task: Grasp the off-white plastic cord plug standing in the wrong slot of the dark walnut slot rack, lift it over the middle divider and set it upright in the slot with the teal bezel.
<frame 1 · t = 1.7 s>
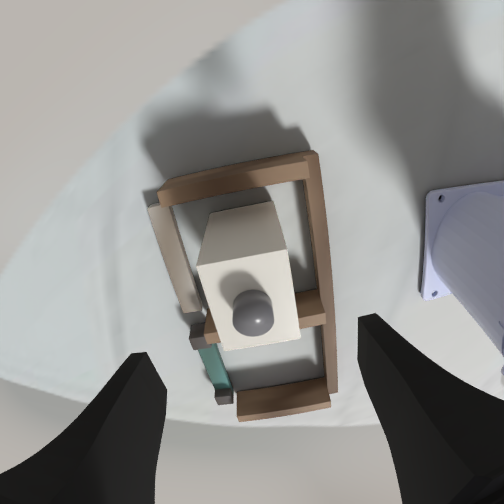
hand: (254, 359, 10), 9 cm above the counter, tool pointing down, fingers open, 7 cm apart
plug: (249, 243, 19), resting in slot rack
slot rack: (262, 304, 20), on the counter
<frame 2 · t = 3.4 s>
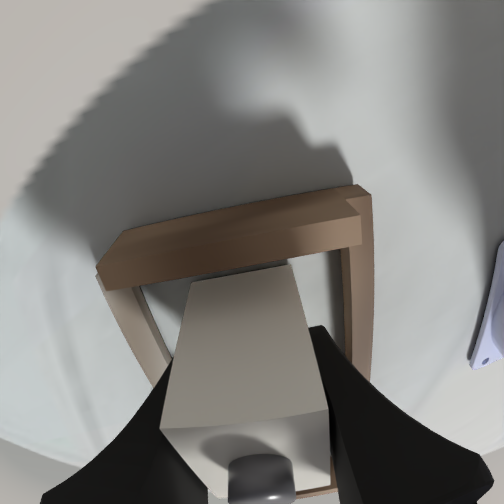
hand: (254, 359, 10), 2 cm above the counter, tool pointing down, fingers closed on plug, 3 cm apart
plug: (252, 323, 12), resting in slot rack, touching gripper
slot rack: (270, 392, 14), on the counter
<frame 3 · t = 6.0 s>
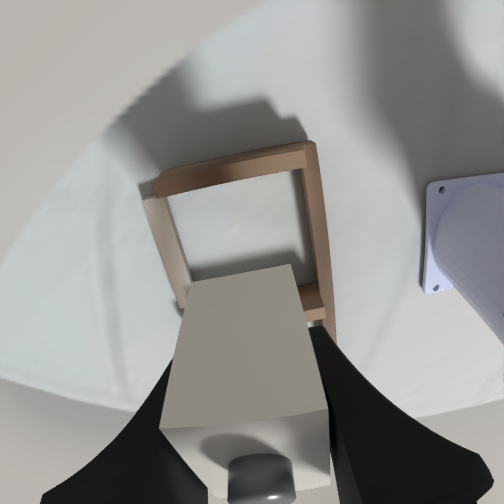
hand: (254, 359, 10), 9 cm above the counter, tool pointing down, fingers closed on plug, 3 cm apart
plug: (252, 323, 12), point 7 cm above the counter, touching gripper
slot rack: (260, 299, 20), on the counter
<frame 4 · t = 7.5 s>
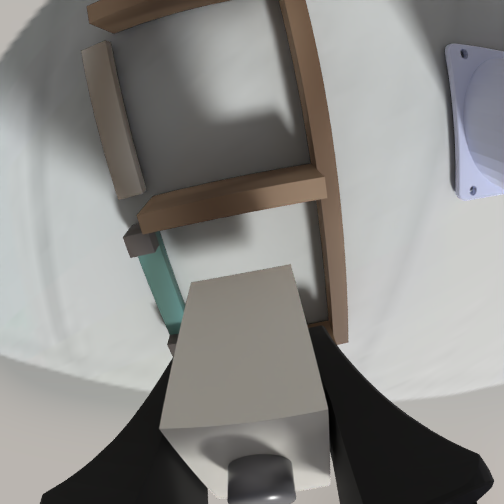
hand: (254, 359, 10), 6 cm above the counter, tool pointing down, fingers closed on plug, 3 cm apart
plug: (252, 323, 12), point 4 cm above the counter, touching gripper
slot rack: (231, 187, 14), on the counter
when the fingers open (3 cm above the counter, at t = 8.8 s): plug drops 1 cm, resting in slot rack.
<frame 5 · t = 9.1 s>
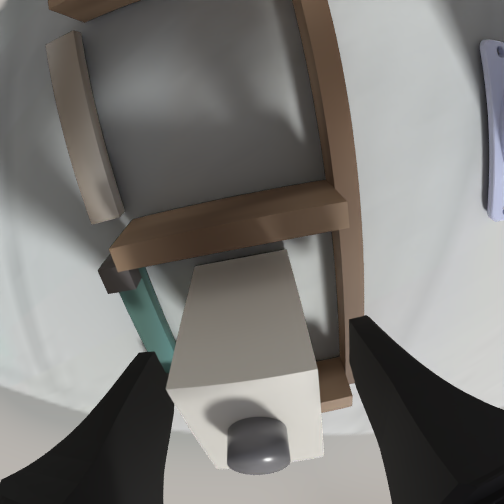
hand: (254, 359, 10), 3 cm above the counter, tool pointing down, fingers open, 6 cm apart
plug: (251, 306, 13), resting in slot rack
slot rack: (228, 208, 11), on the counter
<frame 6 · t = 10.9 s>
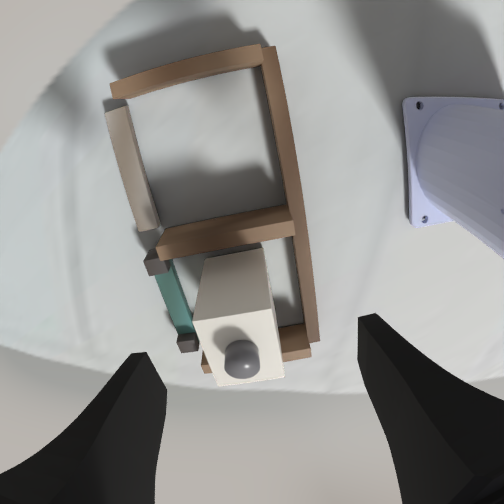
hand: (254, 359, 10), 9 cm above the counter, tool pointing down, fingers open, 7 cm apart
plug: (241, 285, 20), resting in slot rack
slot rack: (226, 222, 18), on the counter
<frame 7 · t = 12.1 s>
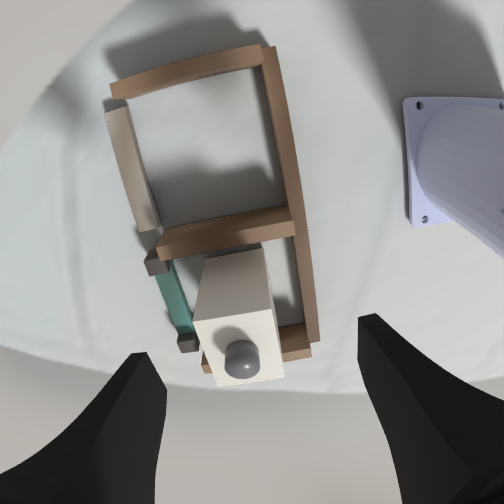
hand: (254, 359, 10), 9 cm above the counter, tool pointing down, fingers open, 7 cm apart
plug: (241, 285, 20), resting in slot rack
slot rack: (226, 223, 18), on the counter
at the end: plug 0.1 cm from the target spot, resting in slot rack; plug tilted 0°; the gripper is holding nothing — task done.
